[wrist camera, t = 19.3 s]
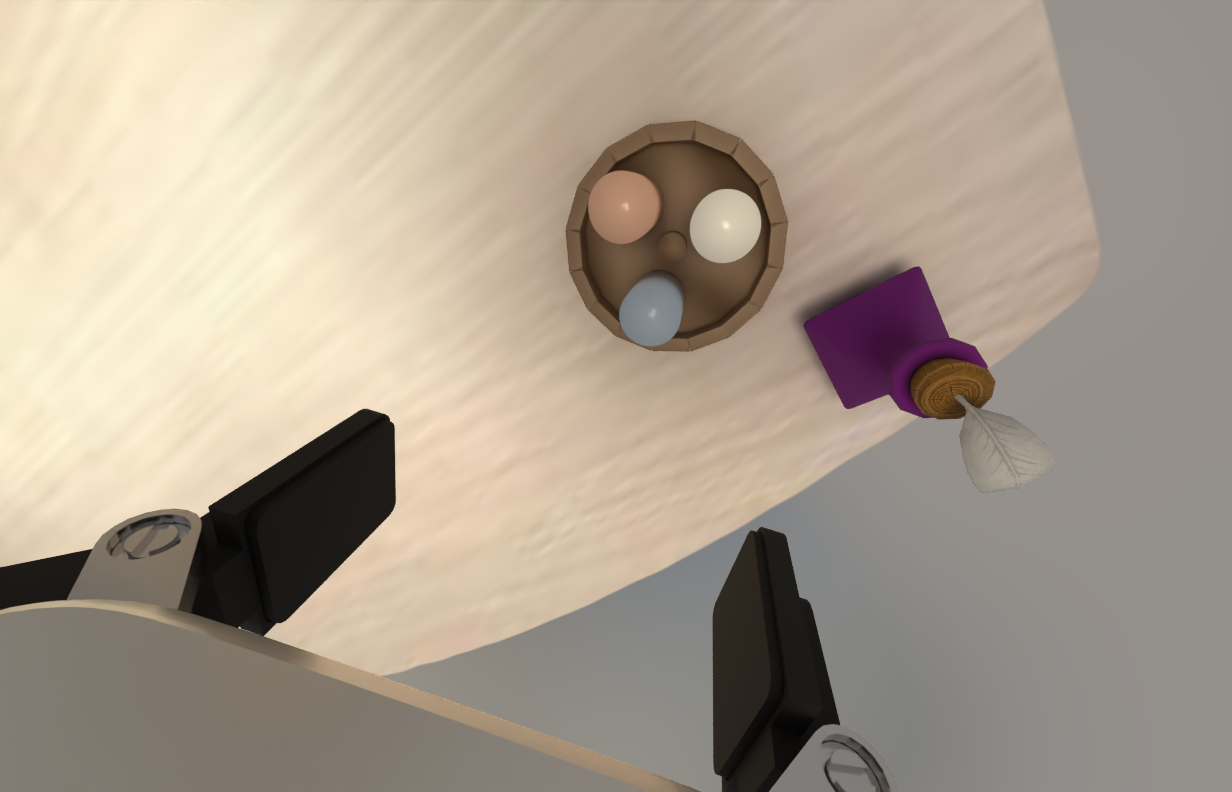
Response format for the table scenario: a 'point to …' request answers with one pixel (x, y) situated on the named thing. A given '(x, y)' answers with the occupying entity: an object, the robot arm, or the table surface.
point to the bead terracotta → (625, 206)
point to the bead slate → (653, 308)
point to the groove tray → (680, 232)
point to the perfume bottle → (924, 376)
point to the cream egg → (725, 225)
